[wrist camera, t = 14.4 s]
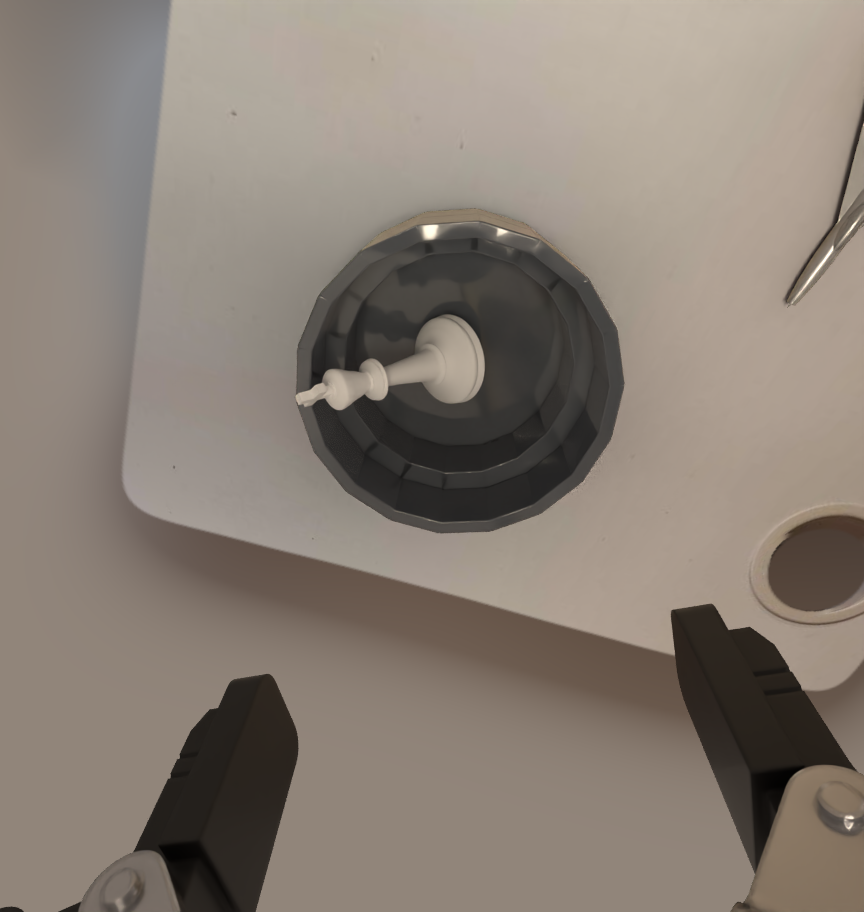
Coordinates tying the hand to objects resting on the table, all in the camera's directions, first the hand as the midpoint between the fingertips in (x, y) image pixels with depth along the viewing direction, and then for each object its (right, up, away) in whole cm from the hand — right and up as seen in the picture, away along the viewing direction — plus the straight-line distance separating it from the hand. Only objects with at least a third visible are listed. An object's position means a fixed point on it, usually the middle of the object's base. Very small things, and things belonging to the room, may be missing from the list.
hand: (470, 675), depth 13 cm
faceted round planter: (+1, +11, +25) cm, 27 cm away
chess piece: (+1, +10, +23) cm, 25 cm away
